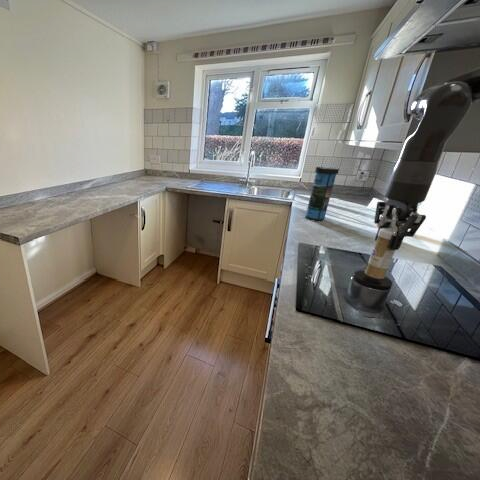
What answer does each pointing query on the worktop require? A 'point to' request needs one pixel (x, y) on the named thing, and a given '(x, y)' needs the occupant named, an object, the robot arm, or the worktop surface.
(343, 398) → the worktop surface
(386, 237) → the sprinkles bottle
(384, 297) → the squat metal tin
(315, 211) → the advertising column
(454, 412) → the worktop surface
